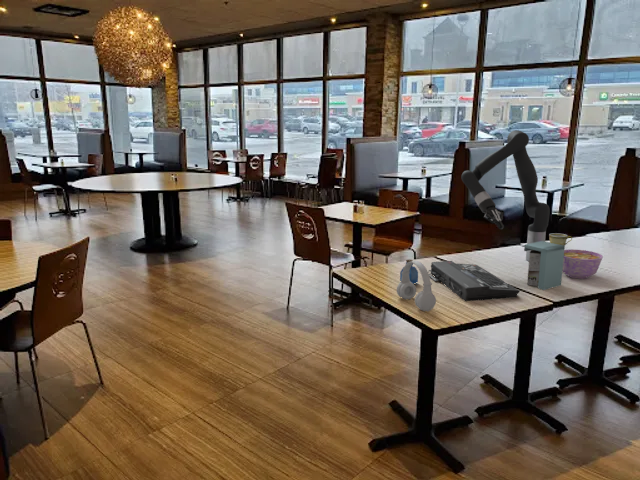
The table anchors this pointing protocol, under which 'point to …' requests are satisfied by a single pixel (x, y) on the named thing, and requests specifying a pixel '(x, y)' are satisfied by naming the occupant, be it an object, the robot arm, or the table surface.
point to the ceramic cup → (558, 238)
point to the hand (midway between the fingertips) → (502, 228)
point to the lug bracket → (548, 263)
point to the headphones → (408, 289)
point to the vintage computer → (471, 281)
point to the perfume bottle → (411, 273)
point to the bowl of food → (581, 263)
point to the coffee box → (534, 267)
